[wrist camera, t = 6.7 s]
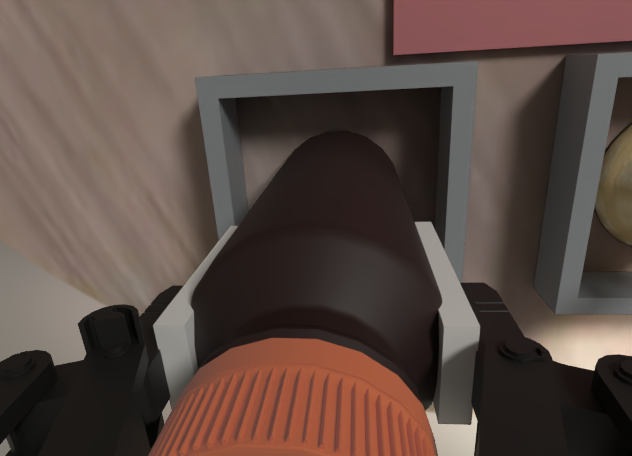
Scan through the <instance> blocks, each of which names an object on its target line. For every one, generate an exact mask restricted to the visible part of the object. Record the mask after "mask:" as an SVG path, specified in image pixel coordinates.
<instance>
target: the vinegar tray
mask: <svg viewBox="0 0 632 456" xmlns="http://www.w3.org/2000/svg"><path fill="white" fill-rule="evenodd" d="M477 70H478V61H466V62H447V63H430V64H413V65H396V66H378V67H361V68H344V69H327V70H310V71H293V72H276V73H259V74H242V75H224V76H209V77H197V78H195V83H196V90H197V96H198V103H199V110H200V117H201V123H202V130H203V137H204V144H205V151H206V157H207V164H208V171H209V178H210V185H211V191H212V198H213V205H214V212H215V219H216V225H217V232H218V239H219V240H220V239H221V238H222V236H223V235H224V234H225V233H226V231H227V230H228V229H229V227H230V226H239V225H240V223H241V222H242V221H243V219H244V218H245V216H246V215H247V214H248V212H249V211H248V203H247V194H246V186H245V177H244V169H243V160H242V152H241V143H240V135H239V126H238V118H237V109H236V101H235V98H239V97H258V96H277V95H296V94H315V93H334V92H353V91H372V90H390V89H409V88H428V87H441V103H440V125H439V147H438V168H437V190H436V212H435V231H436V233H437V235H438V238H439V240H440V242H441V244H442V246H443V248H444V250H445V252H446V255H447V257H448V259H449V261H450V263H451V265H452V267H453V269H454V272H455V274H456V276H457V278H458V280H459V282H460V283H462V273H463V260H464V246H465V233H466V219H467V206H468V192H469V178H470V165H471V151H472V138H473V124H474V111H475V97H476V83H477Z"/></svg>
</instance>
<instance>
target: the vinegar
mask: <svg viewBox="0 0 632 456" xmlns="http://www.w3.org/2000/svg"><path fill="white" fill-rule="evenodd" d="M441 305H442V296H441V293H440V290H439V287H438V285H437V282H436V279H435V276H434V274H433V271H432V268H431V266H430V263H429V260H428V257H427V255H426V252H425V249H424V246H423V244H422V241H421V238H420V235H419V233H418V230H417V227H416V225H415V222H414V219H413V216H412V214H411V211H410V208H409V205H408V203H407V200H406V197H405V194H404V192H403V189H402V186H401V184H400V181H399V178H398V175H397V173H396V170H395V167H394V164H393V163H392V161H391V160H390V159H389V157H388V156H387V154H386V153H385V152H384V150H383V149H382V148H381V147H379V146H378V145H377V144H375V143H374V142H372V141H371V140H370V139H368V138H367V137H364V136H361V135H358V134H354V133H351V132H348V131H341V132H326V133H323V134H320V135H317V136H314V137H312V138H309V139H308V140H307V141H305V142H304V143H303V144H301V145H300V146H299V147H298V148H296V149H295V150H294V151H293V153H292V154H291V155H290V157H289V158H288V159H287V161H286V162H285V164H284V165H283V166H282V168H281V169H280V170H279V172H278V173H277V174H276V176H275V177H274V178H273V180H272V181H271V183H270V184H269V185H268V187H267V188H266V189H265V191H264V192H263V193H262V195H261V196H260V197H259V199H258V200H257V202H256V203H255V204H254V206H253V207H252V208H251V210H250V211H249V212H248V214H247V215H246V216H245V218H244V219H243V221H242V222H241V223H240V225H239V226H238V227H237V229H236V230H235V231H234V233H233V234H232V235H231V237H230V238H229V240H228V241H227V242H226V244H225V245H224V246H223V248H222V249H221V250H220V252H219V253H218V254H217V256H216V257H215V259H214V260H213V262H212V263H211V265H210V266H209V268H208V269H207V271H206V272H205V274H204V275H203V277H202V279H201V280H200V282H199V283H198V285H197V286H196V288H195V290H194V292H193V295H192V300H191V308H192V309H193V311H194V342H195V351H196V357H197V363H198V369H199V370H198V371H197V373H196V374H195V375H194V377H193V378H192V380H191V381H190V382H189V384H188V385H187V387H186V388H185V389H184V391H183V392H182V393H181V395H180V397H179V398H178V400H177V402H176V404H175V406H174V408H173V410H172V412H171V413H170V415H169V417H168V419H167V421H166V423H165V425H164V426H163V428H162V431H161V432H160V434H159V436H158V438H157V440H156V442H155V444H154V446H153V447H152V449H151V451H150V453H149V455H148V456H438V454H437V449H436V445H435V439H434V436H433V433H432V430H431V427H430V424H429V421H428V419H427V416H426V413H425V410H426V409H427V408H428V407H429V406H430V405H431V404H432V402H433V399H434V395H435V390H436V385H437V374H438V358H439V316H438V309H439V308H440V307H441Z"/></svg>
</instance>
